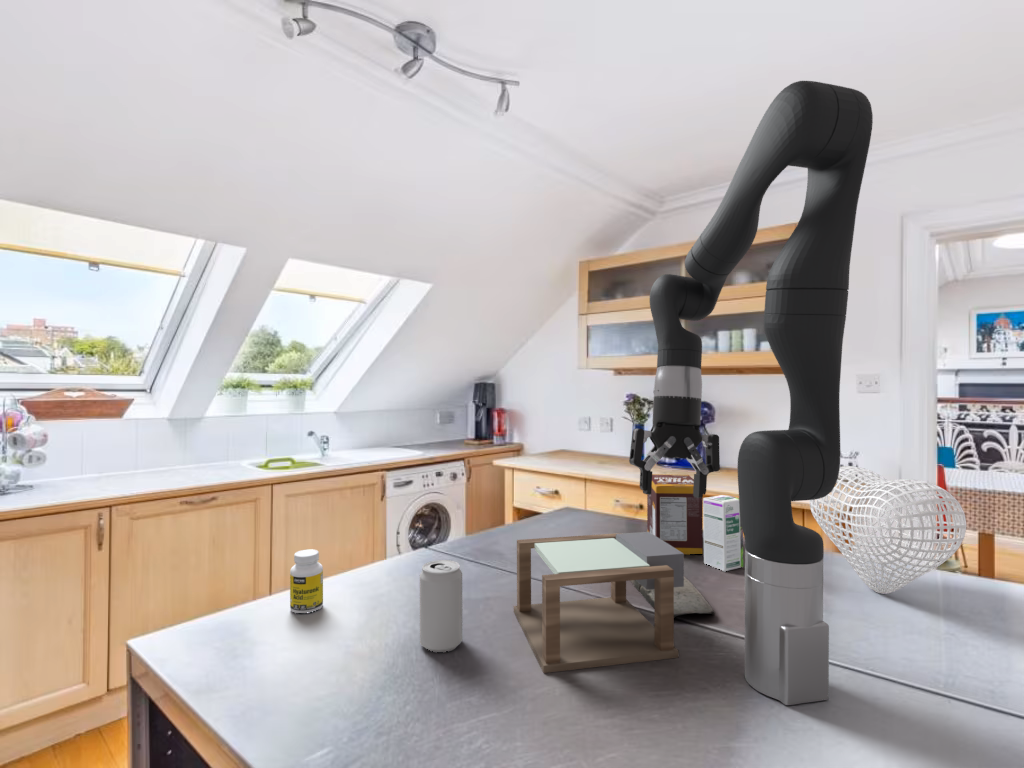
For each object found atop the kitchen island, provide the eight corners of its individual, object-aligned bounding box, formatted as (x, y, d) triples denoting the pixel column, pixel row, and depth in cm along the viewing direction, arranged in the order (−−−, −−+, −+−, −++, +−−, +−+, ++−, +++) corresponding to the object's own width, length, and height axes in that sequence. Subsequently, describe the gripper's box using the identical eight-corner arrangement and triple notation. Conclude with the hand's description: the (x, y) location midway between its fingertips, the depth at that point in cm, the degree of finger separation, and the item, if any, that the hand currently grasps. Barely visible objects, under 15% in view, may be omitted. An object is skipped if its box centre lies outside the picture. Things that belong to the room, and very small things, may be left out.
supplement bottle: (288, 616, 94) (287, 559, 93) (292, 604, 99) (291, 549, 99) (322, 613, 95) (321, 556, 95) (324, 600, 100) (323, 546, 100)
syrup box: (725, 572, 114) (725, 501, 113) (702, 564, 119) (702, 496, 118) (743, 567, 116) (744, 498, 116) (721, 559, 122) (721, 493, 121)
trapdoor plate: (687, 588, 83) (687, 555, 83) (558, 600, 79) (558, 565, 79) (646, 558, 97) (646, 530, 97) (534, 567, 93) (534, 537, 93)
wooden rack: (678, 657, 80) (678, 570, 79) (543, 673, 76) (543, 581, 75) (623, 601, 99) (623, 532, 99) (513, 611, 95) (513, 539, 95)
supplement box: (688, 535, 140) (688, 473, 139) (703, 555, 124) (703, 486, 124) (646, 534, 141) (646, 473, 141) (655, 554, 125) (656, 485, 125)
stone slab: (660, 612, 91) (616, 548, 121) (659, 631, 91) (615, 562, 121) (722, 611, 91) (662, 548, 121) (721, 630, 91) (662, 562, 121)
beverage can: (442, 630, 88) (441, 555, 88) (471, 643, 84) (471, 564, 84) (411, 646, 83) (410, 566, 83) (440, 659, 79) (440, 576, 79)
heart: (792, 568, 116) (792, 462, 115) (859, 564, 118) (859, 460, 118) (906, 629, 88) (907, 489, 88) (990, 622, 90) (991, 486, 90)
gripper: (642, 391, 87) (637, 496, 85) (730, 398, 88) (725, 501, 87) (628, 394, 94) (622, 490, 93) (709, 400, 95) (704, 495, 94)
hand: (672, 495), depth 90 cm, fingers open, 8 cm apart
